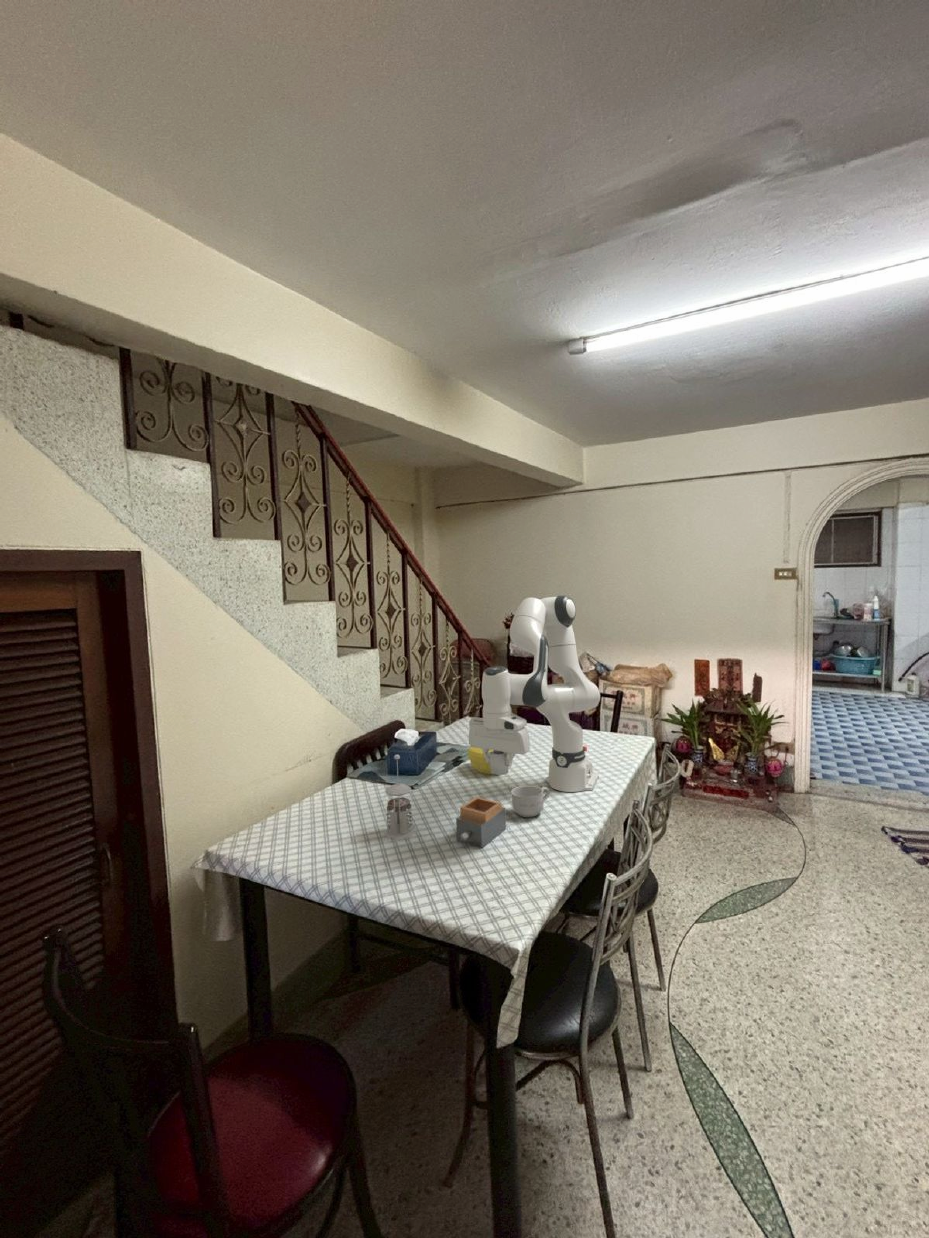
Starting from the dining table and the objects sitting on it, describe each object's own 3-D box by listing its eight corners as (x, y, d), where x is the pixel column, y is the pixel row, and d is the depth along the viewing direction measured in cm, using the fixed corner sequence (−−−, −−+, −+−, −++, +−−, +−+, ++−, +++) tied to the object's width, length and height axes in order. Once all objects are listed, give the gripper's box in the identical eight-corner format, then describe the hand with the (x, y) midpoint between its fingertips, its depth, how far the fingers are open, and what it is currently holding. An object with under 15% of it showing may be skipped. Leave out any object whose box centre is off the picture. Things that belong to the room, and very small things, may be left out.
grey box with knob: (481, 822, 176) (480, 794, 175) (506, 829, 170) (505, 800, 170) (450, 844, 162) (449, 814, 161) (476, 853, 156) (475, 821, 156)
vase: (514, 777, 213) (513, 730, 212) (468, 779, 214) (466, 731, 212) (511, 762, 232) (510, 718, 230) (468, 763, 232) (467, 719, 231)
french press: (416, 823, 176) (413, 749, 174) (414, 841, 165) (411, 761, 163) (386, 825, 176) (382, 750, 174) (382, 842, 165) (378, 762, 163)
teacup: (518, 822, 175) (517, 798, 174) (507, 809, 185) (506, 786, 185) (558, 816, 179) (557, 792, 178) (544, 803, 189) (544, 781, 188)
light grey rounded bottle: (496, 767, 170) (495, 744, 170) (511, 770, 167) (510, 746, 167) (487, 773, 166) (486, 749, 165) (502, 775, 163) (501, 751, 162)
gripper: (463, 718, 169) (465, 762, 170) (521, 725, 158) (523, 772, 158) (474, 714, 174) (476, 756, 175) (531, 720, 163) (533, 766, 163)
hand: (499, 764), depth 167 cm, fingers closed on light grey rounded bottle, 5 cm apart
